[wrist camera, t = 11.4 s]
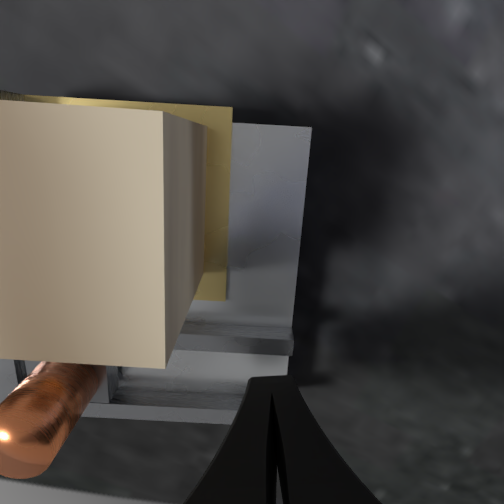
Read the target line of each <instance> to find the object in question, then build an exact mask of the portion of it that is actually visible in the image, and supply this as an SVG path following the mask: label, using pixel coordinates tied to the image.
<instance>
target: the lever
mask: <svg viewBox="0 0 504 504" xmlns="http://www.w3.org/2000/svg"><path fill="white" fill-rule="evenodd" d="M25 365H26V371H27V377H26V378H25V379H24V380H23V381H22V382H21V383H20V384H19V385H18V386H17V387H16V388H15V389H14V390H13V391H12V392H11V393H10V394H9V395H8V396H7V397H6V398H5V399H4V400H3V401H2V402H1V404H0V475H2V476H6V477H9V478H16V479H26V478H31V477H35V476H37V475H39V474H41V473H43V472H44V471H45V470H46V469H47V468H48V467H49V465H50V464H51V462H52V460H53V459H54V457H55V456H56V454H57V453H58V451H59V449H60V448H61V446H62V445H63V443H64V442H65V440H66V439H67V437H68V435H69V434H70V432H71V431H72V429H73V428H74V426H75V424H76V423H77V421H78V420H79V418H80V417H81V415H82V414H83V412H84V410H85V409H86V407H87V406H88V404H89V403H90V402H96V403H109V402H110V400H111V399H112V397H113V395H114V393H115V392H116V390H117V388H118V386H119V379H118V366H109V365H93V364H77V363H61V362H45V361H29V360H25Z"/></svg>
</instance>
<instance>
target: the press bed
mask: <svg viewBox="0 0 504 504" xmlns="http://www.w3.org/2000/svg"><path fill="white" fill-rule="evenodd" d="M0 100H10V101H24V102H39V103H53V104H67V105H82V106H96V107H110V108H125V109H139V110H153V111H164V112H167V113H170V114H173V115H175V116H178V117H181V118H184V119H187V120H190V121H193V122H196V123H199V124H202V125H205V126H207V158H206V197H205V236H204V273H203V276H202V279H201V281H200V284H199V286H198V289H197V291H196V294H195V296H194V299H193V301H192V304H191V306H190V309H189V311H188V314H187V316H186V319H185V321H184V324H183V326H182V329H181V331H180V334H179V336H178V339H177V341H176V344H175V346H174V349H173V351H172V354H171V356H170V359H169V361H168V364H167V366H166V369H157V368H141V367H125V366H118V379H119V386H118V388H117V390H116V392H115V393H114V395H113V397H112V399H111V400H110V402H109V403H96V402H90V403H89V404H88V406H87V407H86V409H85V410H84V412H83V414H82V415H81V416H82V417H101V418H120V419H139V420H157V421H176V422H195V423H214V424H232V422H233V420H234V418H235V416H236V413H237V411H238V409H239V406H240V404H241V401H242V399H243V396H244V393H245V390H246V387H247V383H248V380H249V379H250V378H251V377H259V376H277V375H287V369H288V359H289V356H292V355H293V346H294V337H293V332H292V319H293V309H294V300H295V290H296V280H297V270H298V260H299V250H300V240H301V231H302V221H303V211H304V201H305V191H306V181H307V171H308V162H309V152H310V142H311V132H312V127H298V126H281V125H264V124H247V123H232V116H233V107H220V106H203V105H186V104H169V103H152V102H136V101H119V100H102V99H85V98H68V97H51V96H35V95H22V94H17V93H12V92H7V91H3V90H0ZM26 377H27V371H26V365H25V360H13V359H0V404H1V402H2V401H3V400H4V399H5V398H6V397H7V396H8V395H9V394H10V393H11V392H12V391H13V390H14V389H15V388H16V387H17V386H18V385H19V384H20V383H21V382H22V381H23V380H24V379H25V378H26Z"/></svg>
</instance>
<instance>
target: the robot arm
mask: <svg viewBox="0 0 504 504" xmlns="http://www.w3.org/2000/svg"><path fill="white" fill-rule="evenodd" d="M277 467H278V473H279V480H280V486H281V493H282V499H283V504H382V503H381V502H380V501H379V500H378V499H377V498H376V497H375V496H374V495H373V494H372V493H371V492H370V490H369V489H368V488H367V487H366V486H365V485H364V484H363V483H362V481H361V480H360V479H359V478H358V477H357V476H356V474H355V473H354V472H353V471H352V470H351V468H350V467H349V466H348V465H347V464H346V462H345V461H344V460H343V458H342V457H341V456H340V455H339V453H338V452H337V451H336V449H335V448H334V446H333V445H332V444H331V442H330V441H329V439H328V438H327V437H326V435H325V434H324V432H323V431H322V429H321V428H320V426H319V424H318V423H317V421H316V420H315V418H314V416H313V415H312V413H311V412H310V410H309V408H308V406H307V405H306V403H305V401H304V399H303V397H302V395H301V393H300V391H299V389H298V387H297V384H296V382H295V379H294V377H293V376H291V375H277V376H259V377H251V378H250V379H249V380H248V383H247V387H246V390H245V393H244V396H243V399H242V401H241V404H240V406H239V409H238V411H237V413H236V416H235V418H234V420H233V422H232V424H231V427H230V429H229V431H228V433H227V435H226V436H225V438H224V440H223V442H222V444H221V446H220V448H219V449H218V451H217V453H216V455H215V457H214V458H213V460H212V462H211V463H210V465H209V467H208V468H207V470H206V471H205V473H204V474H203V476H202V478H201V479H200V481H199V482H198V484H197V485H196V487H195V488H194V489H193V491H192V492H191V494H190V495H189V496H188V498H187V499H186V501H185V502H184V503H183V504H276V482H277Z"/></svg>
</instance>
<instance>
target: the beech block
mask: <svg viewBox="0 0 504 504" xmlns="http://www.w3.org/2000/svg"><path fill="white" fill-rule="evenodd" d="M206 158H207V126H205V125H202V124H199V123H196V122H193V121H190V120H187V119H184V118H181V117H178V116H175V115H173V114H170V113H167V112H164V111H153V110H139V109H125V108H110V107H96V106H82V105H67V104H53V103H39V102H24V101H10V100H0V359H13V360H29V361H45V362H61V363H77V364H93V365H109V366H125V367H141V368H157V369H166V366H167V364H168V361H169V359H170V356H171V354H172V351H173V349H174V346H175V344H176V341H177V339H178V336H179V334H180V331H181V329H182V326H183V324H184V321H185V319H186V316H187V314H188V311H189V309H190V306H191V304H192V301H193V299H194V296H195V294H196V291H197V289H198V286H199V284H200V281H201V279H202V276H203V273H204V236H205V197H206Z"/></svg>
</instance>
